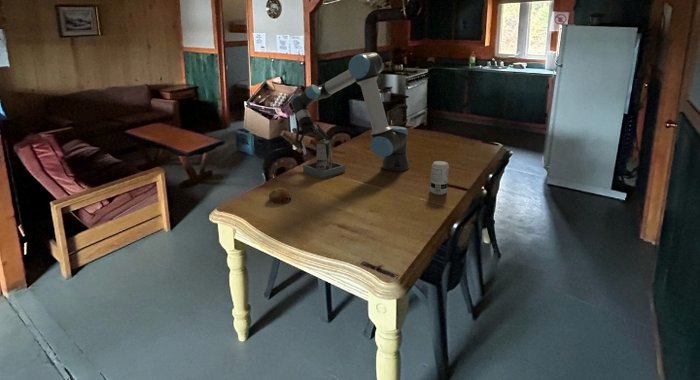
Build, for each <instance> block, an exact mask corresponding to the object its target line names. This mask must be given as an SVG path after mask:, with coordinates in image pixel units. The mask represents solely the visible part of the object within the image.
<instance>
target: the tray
mask: <svg viewBox="0 0 700 380" xmlns="http://www.w3.org/2000/svg"><path fill="white" fill-rule="evenodd" d="M302 166H303V168H302V169H303V173H305V174H307V175H311V176H313V177H315V178H318V179H320V180H325V179H328V178H332V177H335V176H338V175H341V173H342V174H346V165H345V164H342V163H338V162H335V161H332V168H331V169H329V170H325V171H321V170H318V169H317V161H313V162H310V163H307V164H303V165H302Z"/></svg>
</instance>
